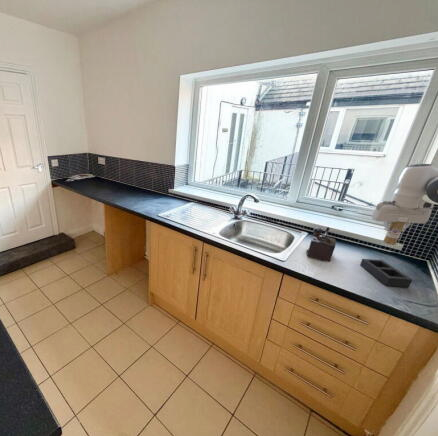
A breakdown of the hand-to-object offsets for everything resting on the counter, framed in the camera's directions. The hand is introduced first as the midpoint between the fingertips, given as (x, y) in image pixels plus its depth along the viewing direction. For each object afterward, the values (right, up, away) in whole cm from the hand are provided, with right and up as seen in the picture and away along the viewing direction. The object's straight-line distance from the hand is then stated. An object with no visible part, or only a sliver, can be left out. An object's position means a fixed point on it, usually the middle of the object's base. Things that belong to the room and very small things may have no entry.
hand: (394, 230), depth 110 cm
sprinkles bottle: (0, -6, +2) cm, 6 cm away
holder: (-3, -21, +2) cm, 21 cm away
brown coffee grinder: (-22, -15, +18) cm, 32 cm away
